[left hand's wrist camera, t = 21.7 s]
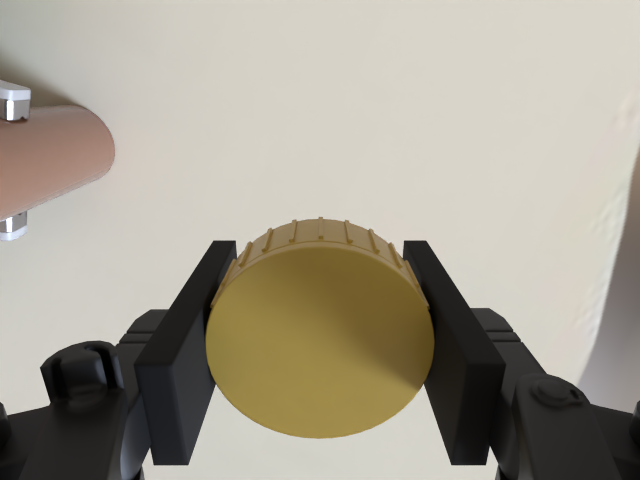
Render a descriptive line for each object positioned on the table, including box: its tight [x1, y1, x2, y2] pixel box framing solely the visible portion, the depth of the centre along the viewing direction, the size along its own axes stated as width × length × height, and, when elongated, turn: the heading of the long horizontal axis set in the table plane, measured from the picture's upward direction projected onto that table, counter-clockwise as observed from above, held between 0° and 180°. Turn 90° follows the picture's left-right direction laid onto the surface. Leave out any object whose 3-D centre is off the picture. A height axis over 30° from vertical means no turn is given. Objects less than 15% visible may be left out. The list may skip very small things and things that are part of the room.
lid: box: [205, 217, 435, 439], centre depth 11 cm, size 6×6×2 cm
